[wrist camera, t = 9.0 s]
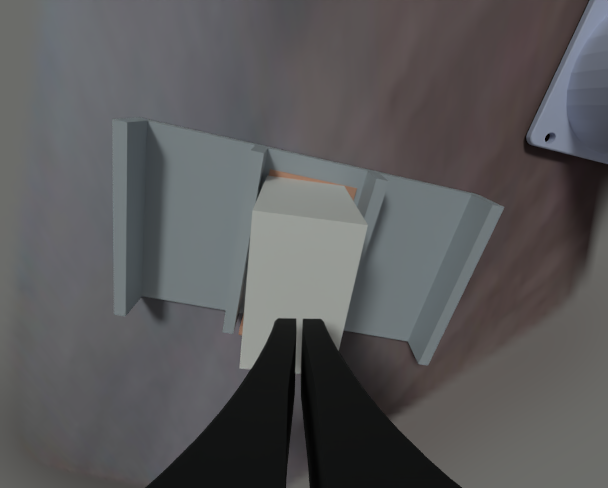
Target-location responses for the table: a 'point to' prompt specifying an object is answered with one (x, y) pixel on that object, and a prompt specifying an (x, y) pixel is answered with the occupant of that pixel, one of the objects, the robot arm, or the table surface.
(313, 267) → the off-white matte box
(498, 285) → the table surface
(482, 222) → the rack
